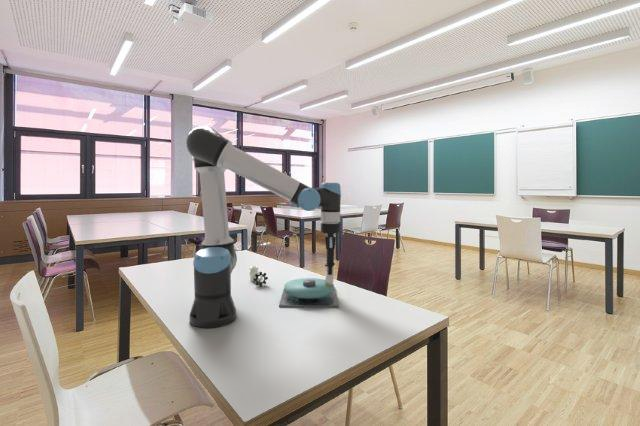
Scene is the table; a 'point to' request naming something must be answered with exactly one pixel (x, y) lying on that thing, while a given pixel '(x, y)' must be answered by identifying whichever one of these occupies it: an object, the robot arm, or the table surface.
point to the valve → (257, 275)
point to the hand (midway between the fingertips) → (329, 281)
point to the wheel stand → (308, 301)
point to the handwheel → (309, 288)
